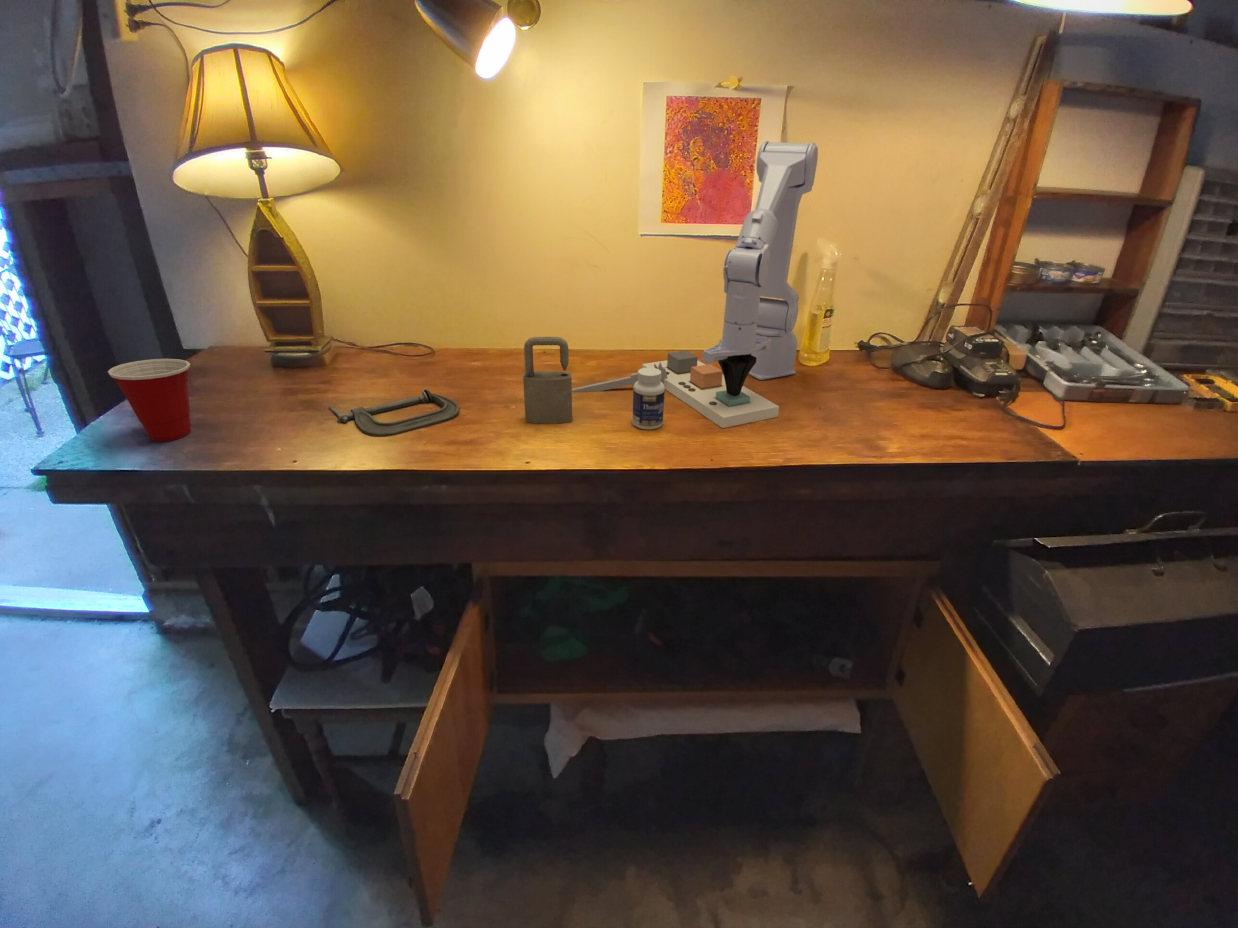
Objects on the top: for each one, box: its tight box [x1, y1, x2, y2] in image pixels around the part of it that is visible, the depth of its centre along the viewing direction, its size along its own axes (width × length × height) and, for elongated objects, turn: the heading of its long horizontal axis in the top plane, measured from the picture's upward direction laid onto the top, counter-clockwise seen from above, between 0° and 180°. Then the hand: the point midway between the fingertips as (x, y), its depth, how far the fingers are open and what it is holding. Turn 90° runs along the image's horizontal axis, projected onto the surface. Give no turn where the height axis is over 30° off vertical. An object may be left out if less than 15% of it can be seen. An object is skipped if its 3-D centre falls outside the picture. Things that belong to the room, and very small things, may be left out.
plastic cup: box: [107, 358, 192, 443], centre depth 106 cm, size 11×11×12 cm
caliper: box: [572, 362, 667, 393], centre depth 129 cm, size 20×1×6 cm, turn 99°
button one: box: [716, 390, 750, 407], centre depth 121 cm, size 4×4×3 cm
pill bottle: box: [632, 367, 666, 430], centre depth 113 cm, size 5×5×10 cm
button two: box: [667, 350, 699, 375], centre depth 134 cm, size 4×4×3 cm
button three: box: [690, 363, 723, 390], centre depth 127 cm, size 4×4×3 cm
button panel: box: [641, 359, 780, 429], centre depth 128 cm, size 12×30×2 cm, turn 26°
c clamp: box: [328, 388, 461, 438], centre depth 117 cm, size 20×17×3 cm
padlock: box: [522, 336, 573, 424], centre depth 113 cm, size 4×8×15 cm, turn 93°
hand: (733, 393), depth 120 cm, fingers closed
